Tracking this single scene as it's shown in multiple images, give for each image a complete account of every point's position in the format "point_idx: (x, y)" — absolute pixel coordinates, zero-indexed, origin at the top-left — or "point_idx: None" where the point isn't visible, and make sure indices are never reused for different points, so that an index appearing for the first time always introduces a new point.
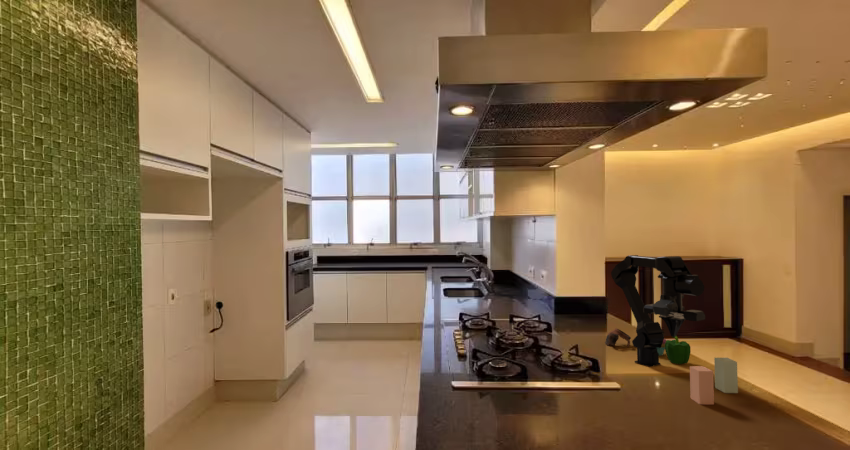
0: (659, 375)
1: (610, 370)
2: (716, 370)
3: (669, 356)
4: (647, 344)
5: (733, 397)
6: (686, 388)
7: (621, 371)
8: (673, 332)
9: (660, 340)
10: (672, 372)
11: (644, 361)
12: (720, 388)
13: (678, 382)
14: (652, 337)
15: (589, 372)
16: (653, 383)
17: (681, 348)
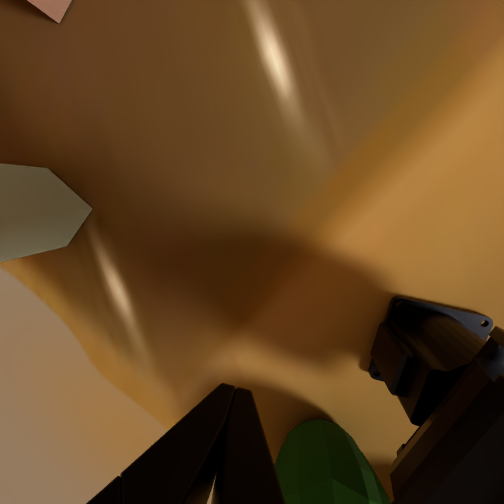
0: (312, 200)
1: None
2: (8, 202)
3: (348, 442)
4: (484, 359)
5: (13, 145)
6: (158, 104)
7: (500, 104)
8: (199, 420)
9: (407, 458)
10: (285, 291)
11: (438, 317)
12: (58, 184)
13: (213, 163)
14: (486, 421)
15: None
16: (287, 42)
17: (288, 493)
